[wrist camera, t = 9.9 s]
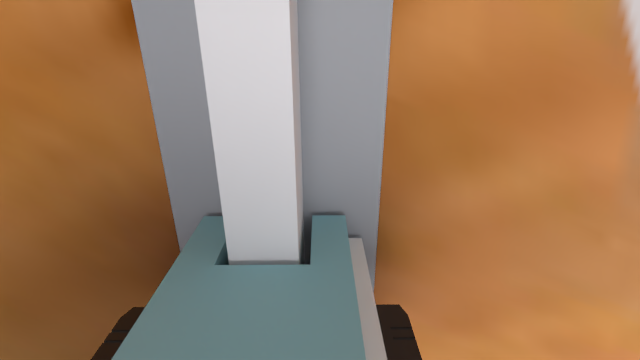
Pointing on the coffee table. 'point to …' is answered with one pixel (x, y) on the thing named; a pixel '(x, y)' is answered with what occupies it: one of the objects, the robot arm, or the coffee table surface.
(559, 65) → the coffee table surface
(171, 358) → the carriage
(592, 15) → the coffee table surface
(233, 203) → the rail station
